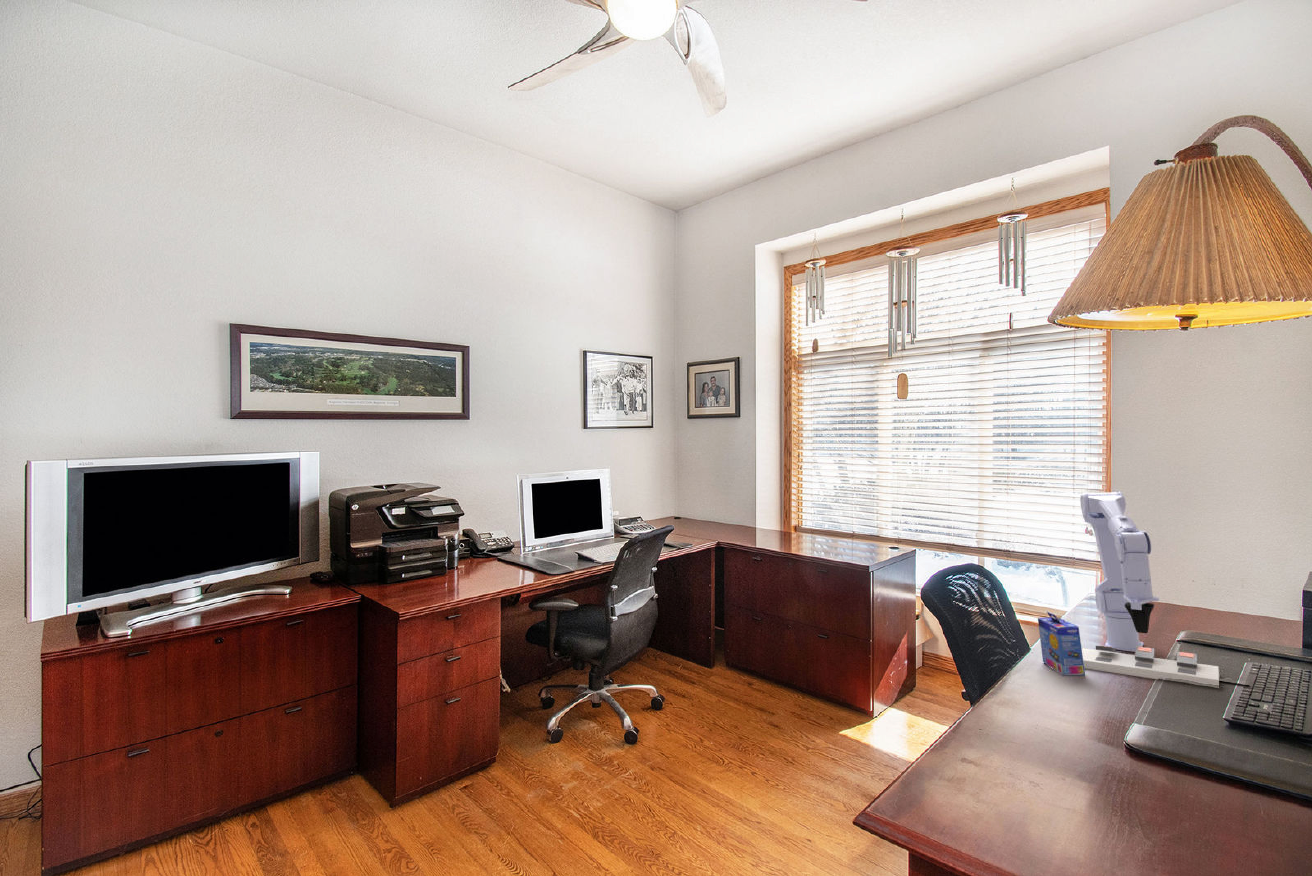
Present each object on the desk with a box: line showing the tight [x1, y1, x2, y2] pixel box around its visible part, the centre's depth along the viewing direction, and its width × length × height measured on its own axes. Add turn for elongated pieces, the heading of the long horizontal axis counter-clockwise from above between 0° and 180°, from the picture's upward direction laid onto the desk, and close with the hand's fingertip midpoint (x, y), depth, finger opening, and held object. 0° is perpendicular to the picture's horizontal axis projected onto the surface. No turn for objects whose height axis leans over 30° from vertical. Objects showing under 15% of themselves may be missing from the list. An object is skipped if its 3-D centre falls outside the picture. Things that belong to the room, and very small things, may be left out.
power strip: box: [1082, 647, 1232, 685], centre depth 145 cm, size 11×32×2 cm, turn 46°
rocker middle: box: [1134, 646, 1155, 662], centre depth 149 cm, size 5×4×1 cm
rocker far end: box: [1095, 645, 1117, 653], centre depth 154 cm, size 5×4×1 cm
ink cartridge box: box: [1037, 611, 1086, 676], centre depth 152 cm, size 10×6×14 cm, turn 174°
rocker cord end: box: [1176, 651, 1198, 668], centre depth 143 cm, size 5×4×1 cm
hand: (1142, 632), depth 149 cm, fingers closed
